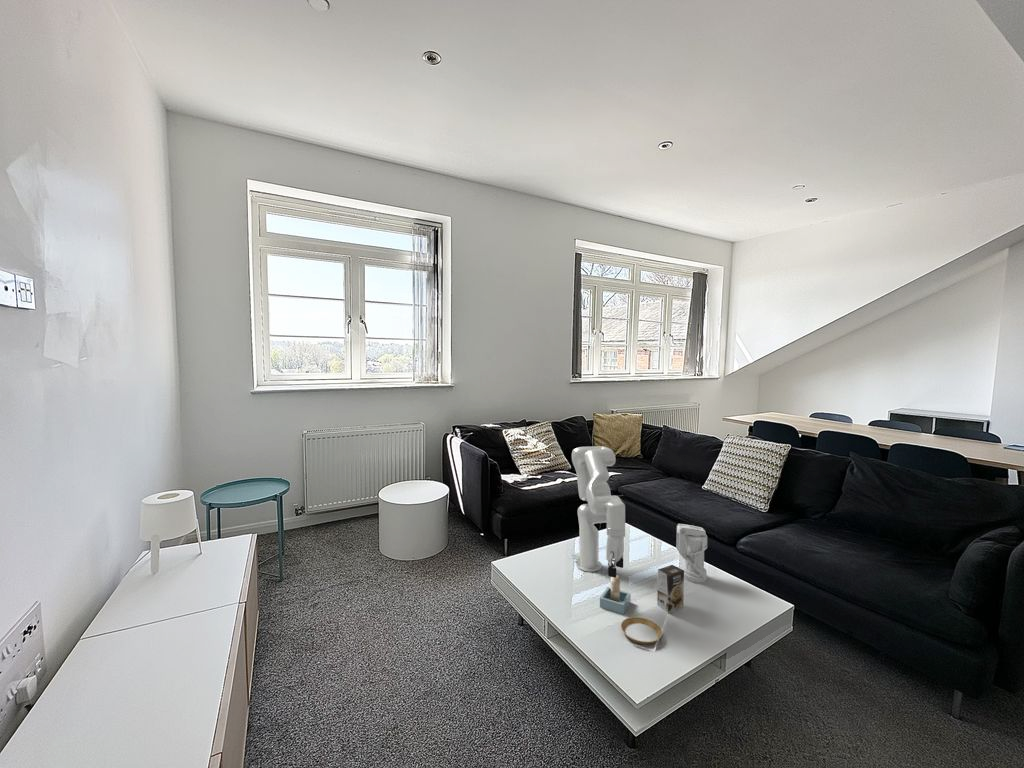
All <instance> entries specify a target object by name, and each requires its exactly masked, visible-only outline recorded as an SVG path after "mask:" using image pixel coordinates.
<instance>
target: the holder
mask: <svg viewBox="0 0 1024 768" xmlns="http://www.w3.org/2000/svg"><path fill="white" fill-rule="evenodd" d="M631 597H632V594H631V592H627V591H624V590H620V603H619V602H616V601H613V600H611V586H610V587H609V586H607V587H606V588H605V590H604V592H603V593H602V594H601V596H600V598H599V608H601V609H604V610H608V611H610V612H613V613H616V614H617V613H618V614H620V615H624V614H625V613H626V611H627V610H628V608H629V606H630V604H631Z"/></svg>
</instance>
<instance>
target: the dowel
mask: <svg viewBox="0 0 1024 768" xmlns="http://www.w3.org/2000/svg"><path fill="white" fill-rule="evenodd" d="M620 581H621V578H620V575H618V574H616V578H614V577H610V588H611V600H613V601H616V602H619V603H620V591H621V585H620V584H621V582H620Z"/></svg>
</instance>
